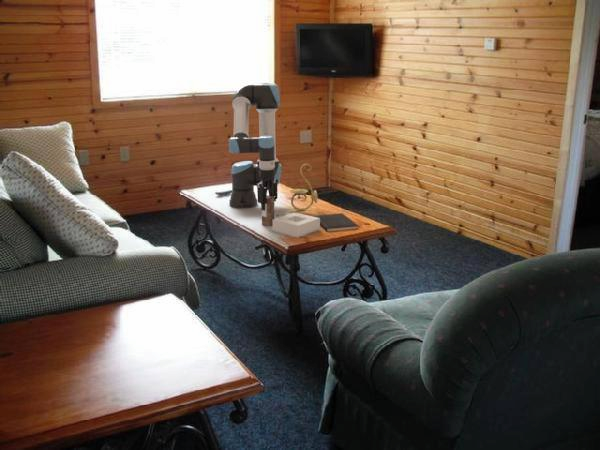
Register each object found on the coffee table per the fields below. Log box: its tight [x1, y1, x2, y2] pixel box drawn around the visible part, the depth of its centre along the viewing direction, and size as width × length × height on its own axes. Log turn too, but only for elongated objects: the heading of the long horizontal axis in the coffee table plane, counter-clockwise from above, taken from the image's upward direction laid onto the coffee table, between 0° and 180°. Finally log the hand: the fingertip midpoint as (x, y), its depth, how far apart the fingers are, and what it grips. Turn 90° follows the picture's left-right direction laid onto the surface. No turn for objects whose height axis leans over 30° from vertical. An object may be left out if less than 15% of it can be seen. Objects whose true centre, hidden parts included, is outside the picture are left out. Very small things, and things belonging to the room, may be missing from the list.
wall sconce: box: [289, 163, 318, 211], centre depth 368 cm, size 14×10×25 cm
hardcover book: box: [312, 213, 359, 233], centre depth 346 cm, size 16×23×2 cm
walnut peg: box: [261, 194, 275, 227], centre depth 344 cm, size 4×4×14 cm
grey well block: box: [272, 212, 321, 239], centre depth 334 cm, size 16×16×6 cm
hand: (268, 215), depth 345 cm, fingers closed on walnut peg, 4 cm apart
